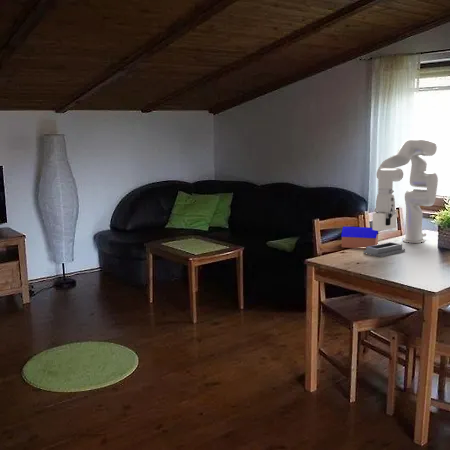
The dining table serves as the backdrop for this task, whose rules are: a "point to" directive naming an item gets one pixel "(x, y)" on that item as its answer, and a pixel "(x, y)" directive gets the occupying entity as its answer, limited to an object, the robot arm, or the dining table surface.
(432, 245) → the dining table surface
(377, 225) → the white block
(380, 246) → the grey holder tray
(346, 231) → the blue shipping container
